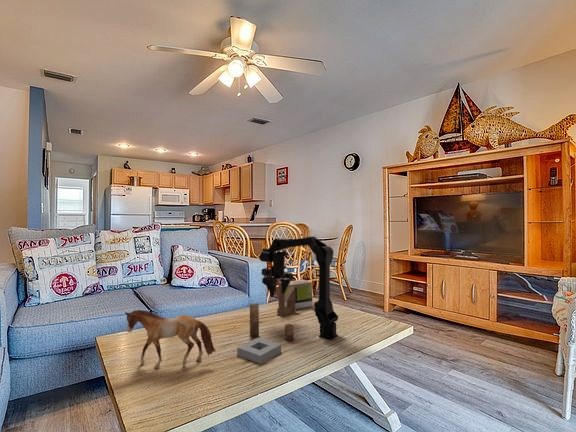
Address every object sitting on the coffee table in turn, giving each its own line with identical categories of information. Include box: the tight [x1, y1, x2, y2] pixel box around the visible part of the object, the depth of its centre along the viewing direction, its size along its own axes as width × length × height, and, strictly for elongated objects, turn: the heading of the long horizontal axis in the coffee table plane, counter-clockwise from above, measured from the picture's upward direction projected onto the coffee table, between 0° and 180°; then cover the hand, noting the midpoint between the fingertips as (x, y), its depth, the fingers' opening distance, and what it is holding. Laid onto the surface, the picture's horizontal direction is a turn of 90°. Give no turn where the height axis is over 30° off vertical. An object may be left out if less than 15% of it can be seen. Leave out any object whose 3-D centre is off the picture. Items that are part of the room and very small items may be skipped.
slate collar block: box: [236, 337, 282, 365], centre depth 118 cm, size 12×12×3 cm
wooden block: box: [276, 281, 296, 317], centre depth 168 cm, size 4×11×18 cm, turn 135°
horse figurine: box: [124, 309, 217, 369], centre depth 109 cm, size 31×8×21 cm, turn 96°
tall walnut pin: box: [249, 302, 260, 339], centre depth 136 cm, size 4×4×14 cm
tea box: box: [285, 279, 314, 310], centre depth 182 cm, size 15×10×15 cm, turn 115°
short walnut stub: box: [284, 323, 295, 342], centre depth 132 cm, size 4×4×6 cm
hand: (277, 295), depth 151 cm, fingers open, 9 cm apart
